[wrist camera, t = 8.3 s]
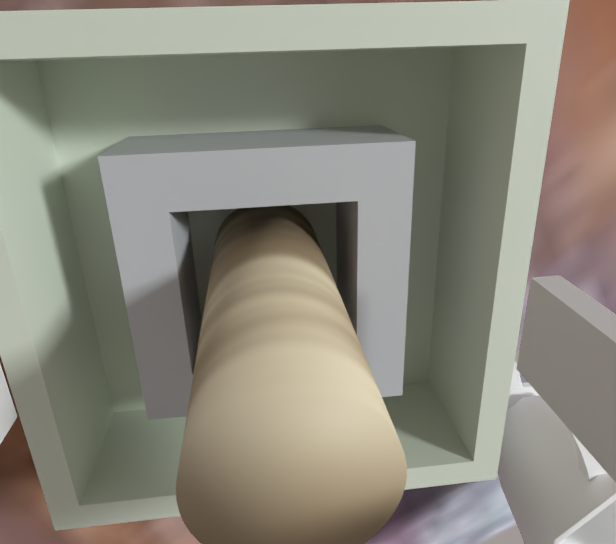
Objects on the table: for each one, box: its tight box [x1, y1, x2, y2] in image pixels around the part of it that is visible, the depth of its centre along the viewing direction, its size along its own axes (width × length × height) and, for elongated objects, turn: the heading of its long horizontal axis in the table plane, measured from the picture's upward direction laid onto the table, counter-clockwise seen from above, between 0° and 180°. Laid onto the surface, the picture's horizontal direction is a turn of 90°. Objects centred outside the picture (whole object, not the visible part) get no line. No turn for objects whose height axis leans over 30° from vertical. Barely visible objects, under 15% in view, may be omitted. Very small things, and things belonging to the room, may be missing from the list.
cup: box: [498, 349, 616, 544], centre depth 22 cm, size 7×10×8 cm
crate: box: [0, 0, 570, 531], centre depth 18 cm, size 16×16×6 cm
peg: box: [176, 205, 407, 544], centre depth 14 cm, size 4×4×12 cm
